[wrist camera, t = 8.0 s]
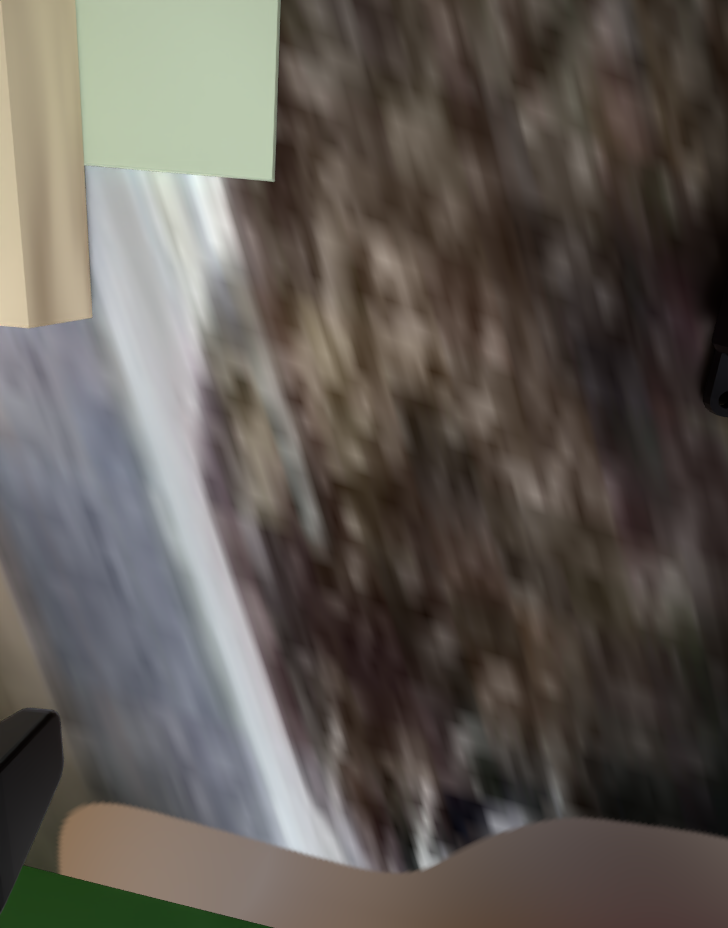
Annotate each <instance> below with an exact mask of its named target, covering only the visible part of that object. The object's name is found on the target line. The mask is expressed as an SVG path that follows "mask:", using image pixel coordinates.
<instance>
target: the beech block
mask: <svg viewBox="0 0 728 928" xmlns="http://www.w3.org/2000/svg"><path fill="white" fill-rule="evenodd" d="M88 318H92V302H91V284H90V265H89V247H88V228H87V209H86V191H85V172H84V153H83V135H82V116H81V98H80V79H79V60H78V42H77V23H76V5H75V0H0V326H11V327H21V328H34V327H40V326H46V325H52V324H58V323H64V322H70V321H76V320H82V319H88Z"/></svg>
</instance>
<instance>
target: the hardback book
mask: <svg viewBox="0 0 728 928" xmlns="http://www.w3.org/2000/svg"><path fill="white" fill-rule="evenodd" d="M0 928H273V927H268V926H265V925H261V924H257V923H252V922H248V921H244V920H240V919H237V918H233V917H228V916H225V915H221V914H216V913H212V912H208V911H204V910H201V909H196V908H192V907H189V906H184V905H180V904H176V903H172V902H168V901H164V900H160V899H156V898H152V897H148V896H144V895H140V894H136V893H132V892H128V891H124V890H120V889H116V888H112V887H108V886H104V885H100V884H96V883H92V882H88V881H84V880H80V879H76V878H72V877H68V876H64V875H60V874H56V873H52V872H48V871H44V870H40V869H36V868H32V867H28V866H24V865H23V866H22V869H21V871H20V873H19V876H18V878H17V880H16V882H15V885H14V887H13V889H12V891H11V893H10V896H9V898H8V900H7V902H6V904H5V906H4V908H3V910H2V912H1V914H0Z"/></svg>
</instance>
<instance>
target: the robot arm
mask: <svg viewBox="0 0 728 928" xmlns="http://www.w3.org/2000/svg"><path fill="white" fill-rule="evenodd" d="M712 343H713V345H714V347H715V348H716V349H715V352H714V356H713V360H712V364H711V368H710V372H709V376H708V380H707V384H706V388H705V392H704V397H703V402H704V405H705V407H706V408H707V409H708V410H709V411H710V412H712V413H714V414H716V415H719V416H722V417H728V401H727V402H726V403H725V404H724V405H720V404H719V398H720V396H721V394H723V393H724V392H726V391H728V278H727V282H726V286H725V290H724V294H723V298H722V302H721V305H720V309H719V313H718V317H717V321H716V325H715V329H714V333H713V337H712ZM63 764H64V757H63V745H62V733H61V721H60V716H59V714H58V713H57V712H56V711H54V710H48V709H37V708H25V709H22V710H20V711H18V712H16V713H15V714H13V715H11V716H9V717H8V718H6V719H4V720H3V721H1V722H0V914H1V912H2V910H3V908H4V906H5V904H6V902H7V900H8V898H9V896H10V893H11V891H12V889H13V887H14V885H15V882H16V880H17V878H18V876H19V873H20V871H21V869H22V866H23V864H24V862H25V859H26V857H27V855H28V853H29V850H30V848H31V846H32V843H33V841H34V839H35V836H36V834H37V832H38V829H39V827H40V825H41V823H42V820H43V818H44V816H45V813H46V811H47V809H48V806H49V804H50V802H51V800H52V797H53V795H54V793H55V790H56V788H57V786H58V783H59V781H60V778H61V775H62V771H63Z"/></svg>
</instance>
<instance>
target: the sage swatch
mask: <svg viewBox="0 0 728 928" xmlns="http://www.w3.org/2000/svg"><path fill="white" fill-rule="evenodd" d="M75 5H76V23H77V42H78V60H79V79H80V98H81V116H82V135H83V153H84V165H86V166H98V167H109V168H121V169H133V170H144V171H156V172H168V173H180V174H191V175H203V176H215V177H227V178H238V179H250V180H262V181H273V182H275V153H276V123H277V94H278V64H279V34H280V5H281V0H75Z"/></svg>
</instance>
